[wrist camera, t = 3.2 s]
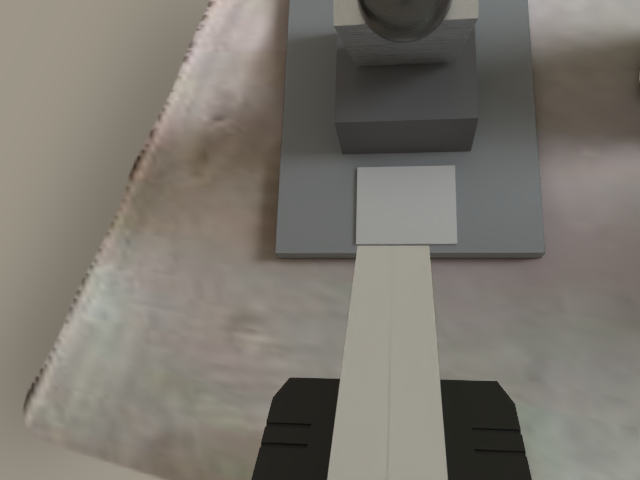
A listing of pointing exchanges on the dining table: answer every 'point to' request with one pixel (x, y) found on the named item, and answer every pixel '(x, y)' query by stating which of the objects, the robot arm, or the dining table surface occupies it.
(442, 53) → the toggle lever
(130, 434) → the dining table surface
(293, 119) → the switch board
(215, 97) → the dining table surface
